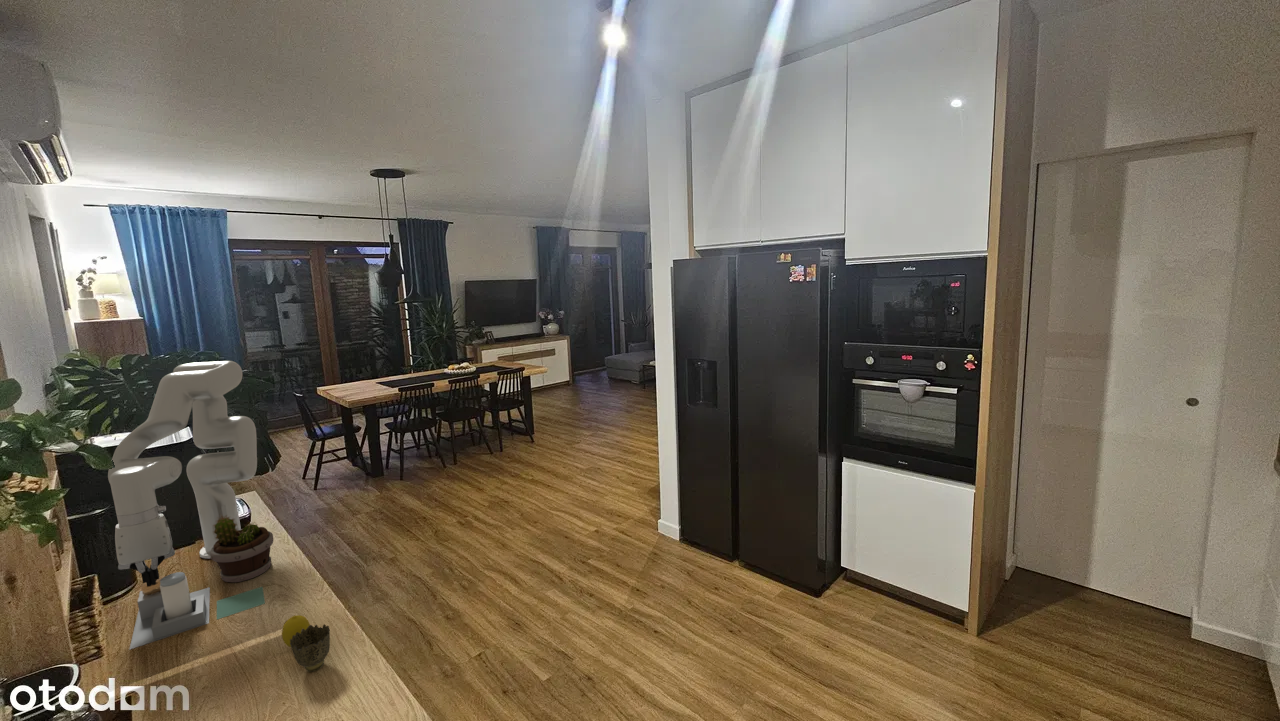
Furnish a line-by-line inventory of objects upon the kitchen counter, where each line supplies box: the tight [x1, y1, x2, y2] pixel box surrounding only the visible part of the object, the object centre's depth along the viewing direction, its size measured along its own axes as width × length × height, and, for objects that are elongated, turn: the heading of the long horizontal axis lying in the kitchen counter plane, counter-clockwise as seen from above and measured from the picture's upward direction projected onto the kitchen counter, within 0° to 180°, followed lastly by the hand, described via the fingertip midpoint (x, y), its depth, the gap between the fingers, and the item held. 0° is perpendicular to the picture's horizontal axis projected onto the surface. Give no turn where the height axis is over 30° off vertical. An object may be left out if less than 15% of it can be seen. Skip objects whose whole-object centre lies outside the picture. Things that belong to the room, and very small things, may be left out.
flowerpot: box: [210, 514, 274, 583], centre depth 154 cm, size 14×15×20 cm
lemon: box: [281, 614, 311, 648], centre depth 124 cm, size 6×6×8 cm
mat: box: [216, 586, 266, 620], centre depth 141 cm, size 10×10×1 cm
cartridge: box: [160, 571, 193, 620], centre depth 133 cm, size 5×5×12 cm
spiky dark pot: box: [290, 624, 331, 673], centre depth 117 cm, size 8×7×8 cm
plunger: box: [140, 577, 163, 595], centre depth 138 cm, size 4×4×6 cm
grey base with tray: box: [128, 586, 211, 650], centre depth 136 cm, size 20×14×6 cm
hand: (151, 583), depth 137 cm, fingers closed
